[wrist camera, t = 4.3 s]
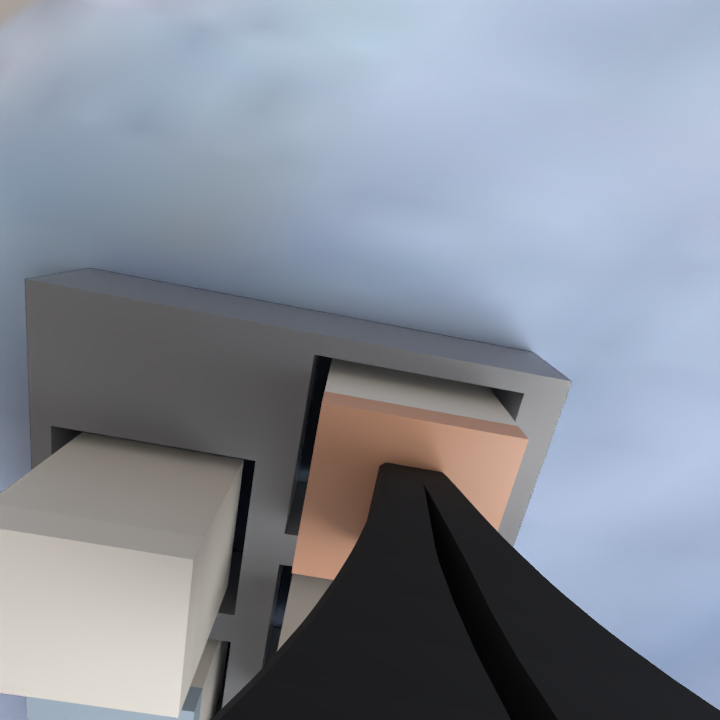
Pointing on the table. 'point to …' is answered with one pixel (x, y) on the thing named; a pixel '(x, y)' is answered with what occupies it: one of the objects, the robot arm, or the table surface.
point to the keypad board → (242, 403)
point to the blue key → (195, 714)
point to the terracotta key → (399, 452)
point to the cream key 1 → (114, 572)
